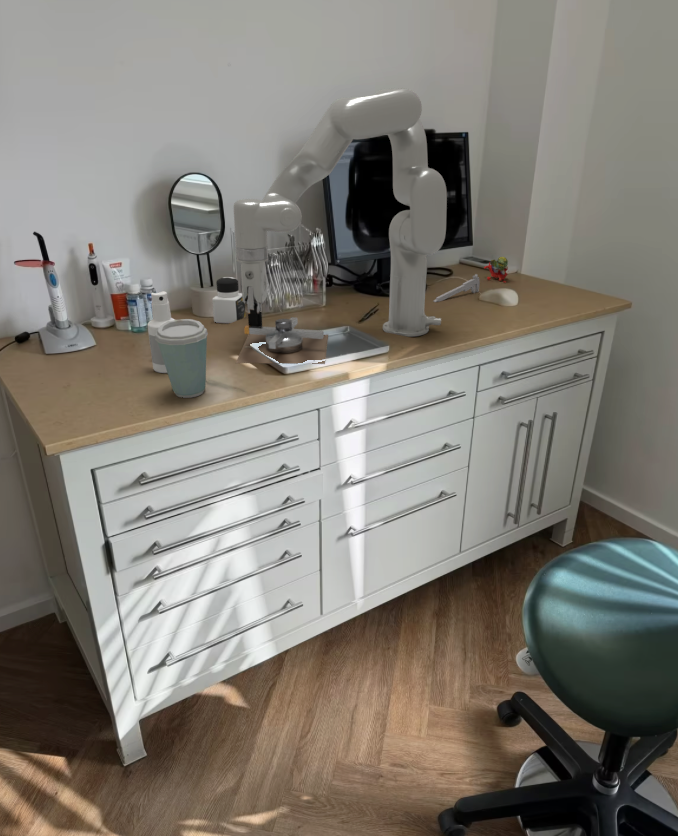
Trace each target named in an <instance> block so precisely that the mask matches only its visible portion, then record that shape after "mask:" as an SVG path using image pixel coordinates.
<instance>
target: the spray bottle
mask: <svg viewBox="0 0 678 836" xmlns="http://www.w3.org/2000/svg"><path fill="white" fill-rule="evenodd" d="M150 296H151V313H152V319H151V320H150V321H148V323H147V332H148V341H149V347H150V354H151V361H152V362H151V363H152V368H153V369H152V370H153V371H155V372H156V373H161V374H168V373H167V370H166V367H165V364H164V361H163V357H162V354H161V351H160V348H159V345H158V342H157V341H156V340H155V339H156V338H155V335H156V333H157V330H158V328H159V326H160V325H162V324H164V323H166V322H168V321H173V320H176V319H174V318H173V317H172V314H171V313H172V311H171V306H170V301H169V298H168V293H167V291H164V290H163V291H160V292H151V295H150Z"/></svg>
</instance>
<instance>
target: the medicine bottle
mask: <svg viewBox="0 0 678 836" xmlns="http://www.w3.org/2000/svg"><path fill="white" fill-rule="evenodd" d="M216 292H217V293H216V294H217V295H215V296H214V297H212V299H211V300H212V302H211V303H212V311H213V313H212V314H213V322H214V323H215V322H216V324H217V323H218V324H229V323H230V324H232V323H234V322H237V321H240V320H242V319H245V318H246V304H245V303H244V302H243V298H242V292H240V290H239V280H238V279H237V278H236V277H230V276H224V277H221V278H218V279H217V280H216Z"/></svg>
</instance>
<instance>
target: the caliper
mask: <svg viewBox="0 0 678 836" xmlns="http://www.w3.org/2000/svg"><path fill="white" fill-rule="evenodd" d="M478 275H479V274H477V273H475V274H474V275H472V278H471V279H469V280H467V281H465V282H463V283H462V284H461V285H459V286H458V287H455V288H453V289H451V290H449V291H447V292H444V293H443V294H441V295H439V296H437V297H435V299H434V300H433V301H432V302H434V303H437V302H438V303H439V302H443V301H444V300H446V299H449V298H450V297H452V296H455V295H457V294H459V293H460V292H467V291H469V290H470V292H471V294H472V293H473V294H476V293H479V291H480V284H481V283H480V277H479V276H478Z"/></svg>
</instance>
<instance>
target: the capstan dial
mask: <svg viewBox="0 0 678 836" xmlns="http://www.w3.org/2000/svg"><path fill="white" fill-rule="evenodd" d="M298 323H299V322H298V317H296V316H295V317H290V318H279V319H276V320H275V323H274V324H275V326H273V327H272V326H262V327H261V326H250V325H249V324H248V325H247V324H246V325H245V326H244V335H249V334H257V335H266V348H267V350H269V351H271V352H275V353H292V352H296V351H299V350H301V349H302V347H303V339H302V338H314V339H323V337H324V335H325V334H324V332H325V331H324V330H316V329H305V328H295V327H296V326H297V325H298Z"/></svg>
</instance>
